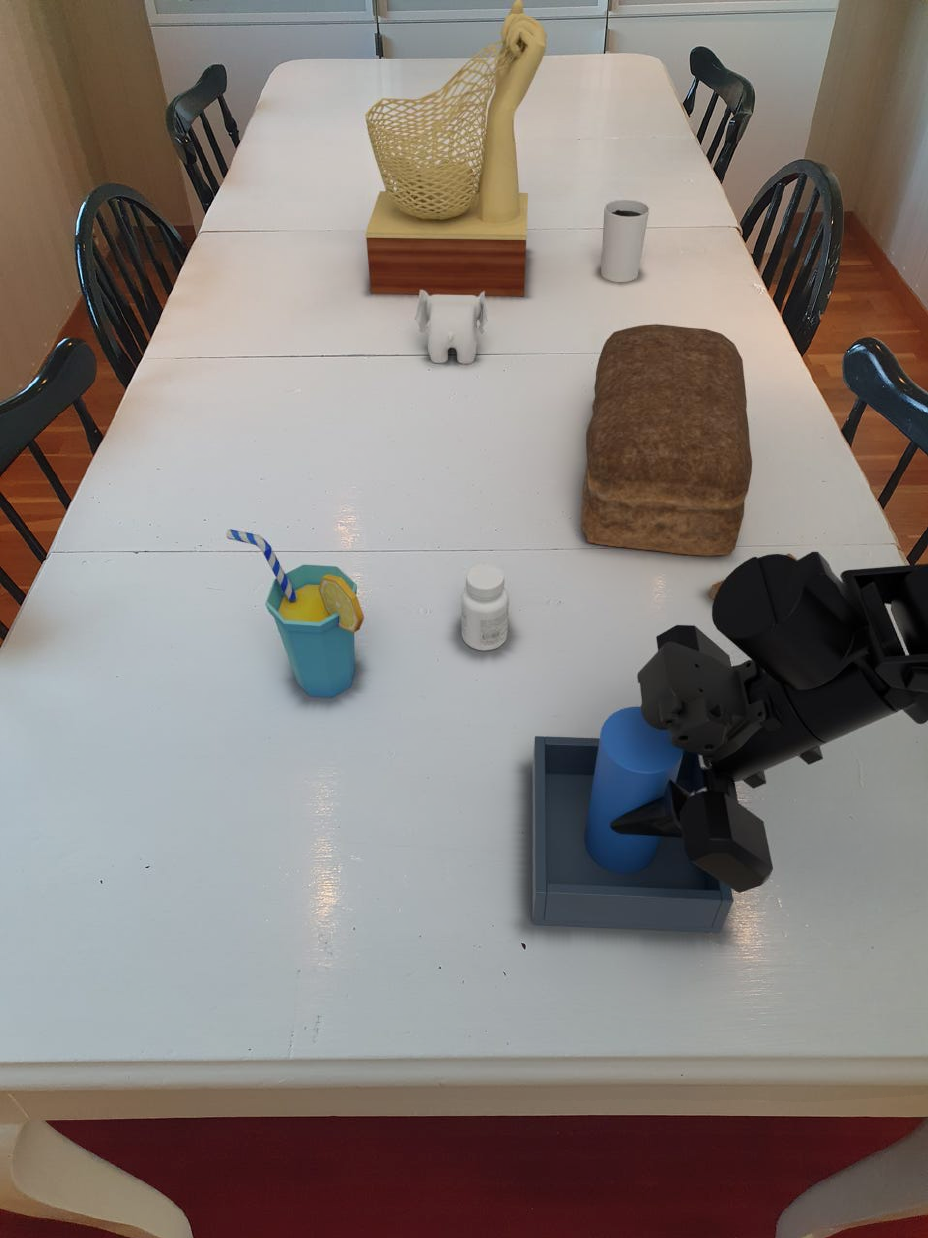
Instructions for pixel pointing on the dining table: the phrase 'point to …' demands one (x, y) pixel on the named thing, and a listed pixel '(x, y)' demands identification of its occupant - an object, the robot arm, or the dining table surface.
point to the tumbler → (627, 787)
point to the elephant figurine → (451, 324)
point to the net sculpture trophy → (456, 182)
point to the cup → (313, 620)
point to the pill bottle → (484, 608)
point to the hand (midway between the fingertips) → (611, 793)
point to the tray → (590, 892)
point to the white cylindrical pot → (623, 239)
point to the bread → (667, 442)
